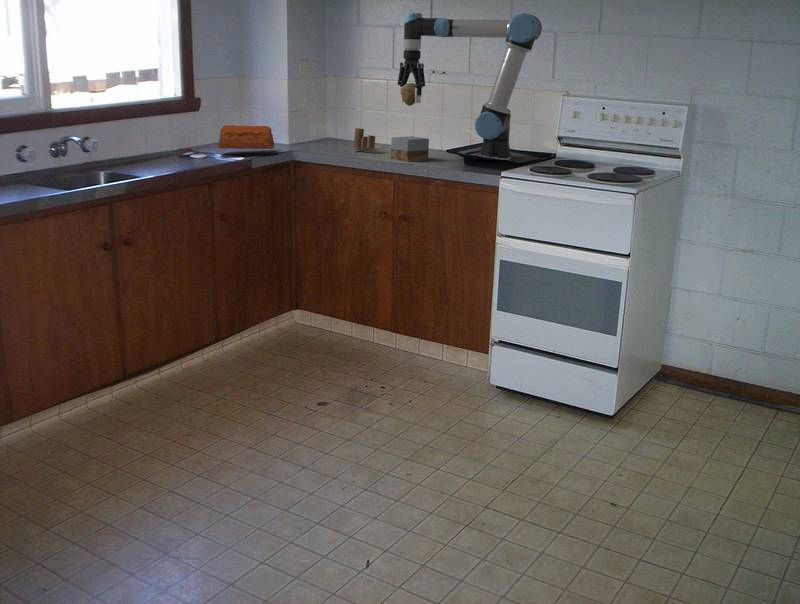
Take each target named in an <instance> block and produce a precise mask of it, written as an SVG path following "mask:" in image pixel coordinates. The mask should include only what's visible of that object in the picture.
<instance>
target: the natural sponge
mask: <svg viewBox="0 0 800 604" xmlns="http://www.w3.org/2000/svg"><path fill="white" fill-rule="evenodd" d="M415 88H416V83H413V82H407V84H405V85H404V86H403V87H402V88H401V87H400V97H401V96H402V99H403V101H404V104H405V105H407V106H408V107H409V106H413V105H414V104H416V103H415Z"/></svg>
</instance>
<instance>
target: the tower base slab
mask: <svg viewBox="0 0 800 604" xmlns="http://www.w3.org/2000/svg"><path fill="white" fill-rule="evenodd" d="M390 149H391V148H390ZM390 160H395V161H401V162H407V163H409V162H422V161H423V162H424V161H429V150H420V151H403V150H397V149H391V150H390Z"/></svg>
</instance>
